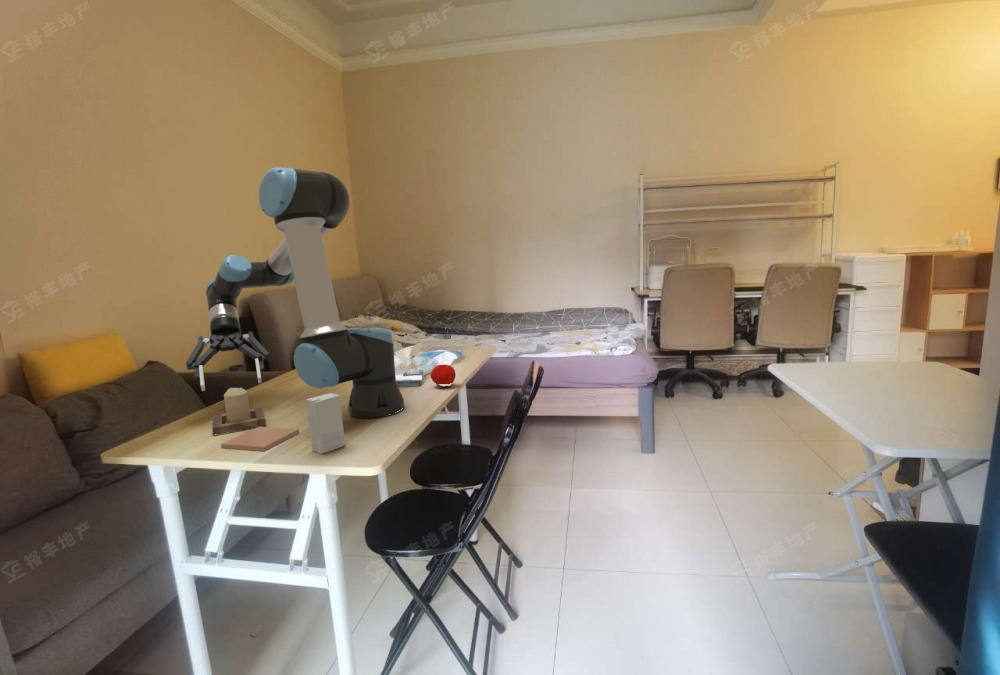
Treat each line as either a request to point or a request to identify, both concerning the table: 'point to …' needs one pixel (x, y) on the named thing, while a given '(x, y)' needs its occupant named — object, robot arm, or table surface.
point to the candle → (237, 405)
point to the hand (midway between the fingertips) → (232, 384)
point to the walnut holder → (240, 425)
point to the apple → (443, 374)
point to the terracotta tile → (260, 438)
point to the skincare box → (325, 422)
